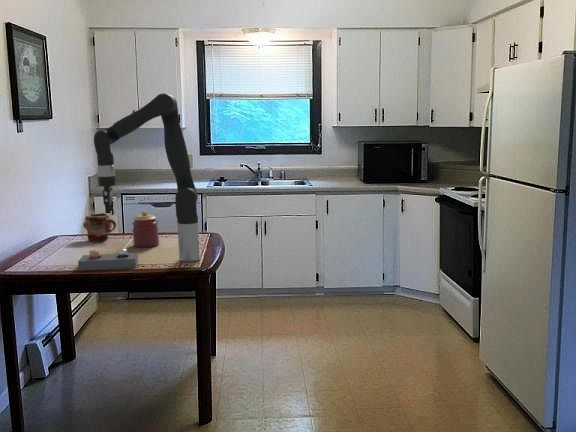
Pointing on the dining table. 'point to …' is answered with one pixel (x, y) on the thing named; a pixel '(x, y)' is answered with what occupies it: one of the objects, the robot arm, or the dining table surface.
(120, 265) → the button panel
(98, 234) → the brown ceramic mug
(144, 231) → the canister
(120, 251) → the steel button
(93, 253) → the terracotta button
